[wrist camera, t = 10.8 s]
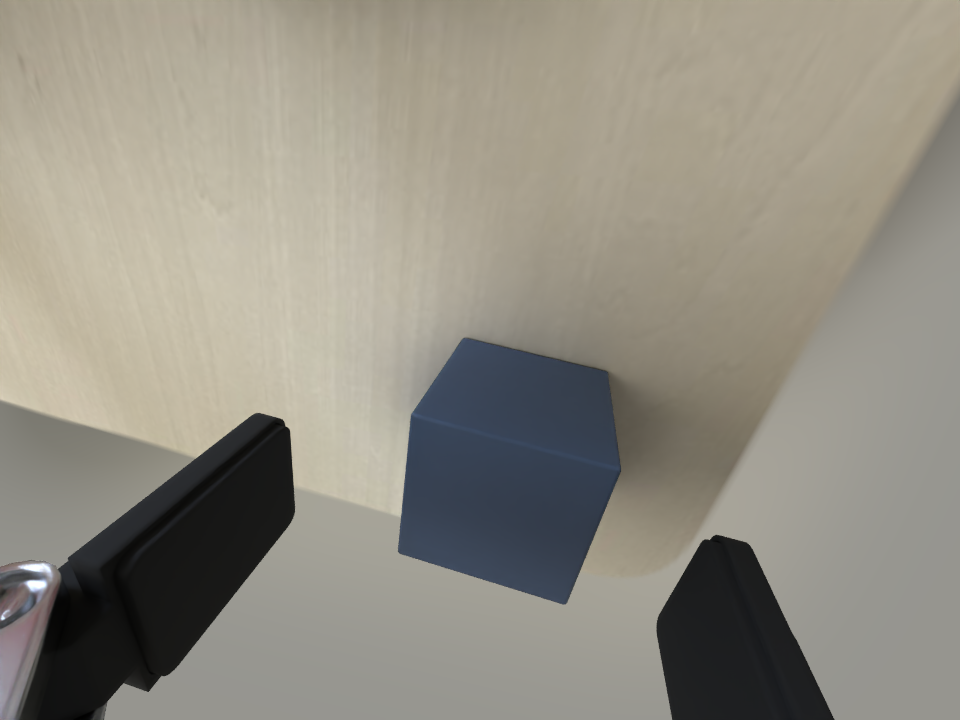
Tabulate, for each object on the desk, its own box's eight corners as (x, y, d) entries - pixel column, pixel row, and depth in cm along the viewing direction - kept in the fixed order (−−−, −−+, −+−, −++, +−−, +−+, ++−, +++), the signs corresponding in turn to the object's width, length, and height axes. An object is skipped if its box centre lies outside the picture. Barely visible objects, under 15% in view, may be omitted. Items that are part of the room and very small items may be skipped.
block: (608, 370, 12) (622, 470, 8) (570, 483, 14) (566, 607, 10) (462, 336, 12) (409, 413, 9) (446, 449, 14) (396, 554, 11)
